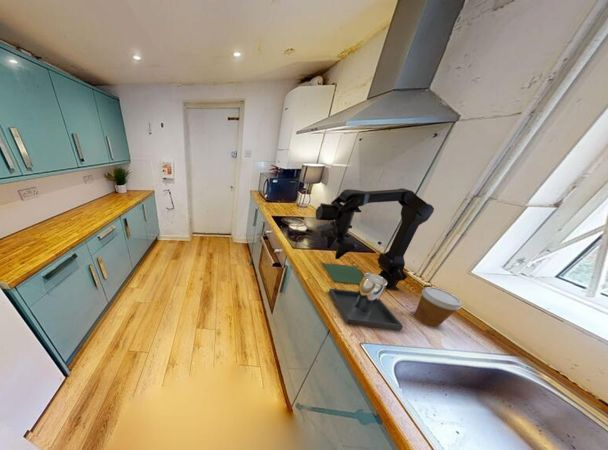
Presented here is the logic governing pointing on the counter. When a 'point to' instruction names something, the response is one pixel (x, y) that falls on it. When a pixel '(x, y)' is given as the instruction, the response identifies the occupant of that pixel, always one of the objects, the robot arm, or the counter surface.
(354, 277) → the drying mat
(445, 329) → the counter surface
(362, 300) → the beer glass
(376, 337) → the counter surface
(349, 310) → the dark grey tray
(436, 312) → the disposable coffee cup
